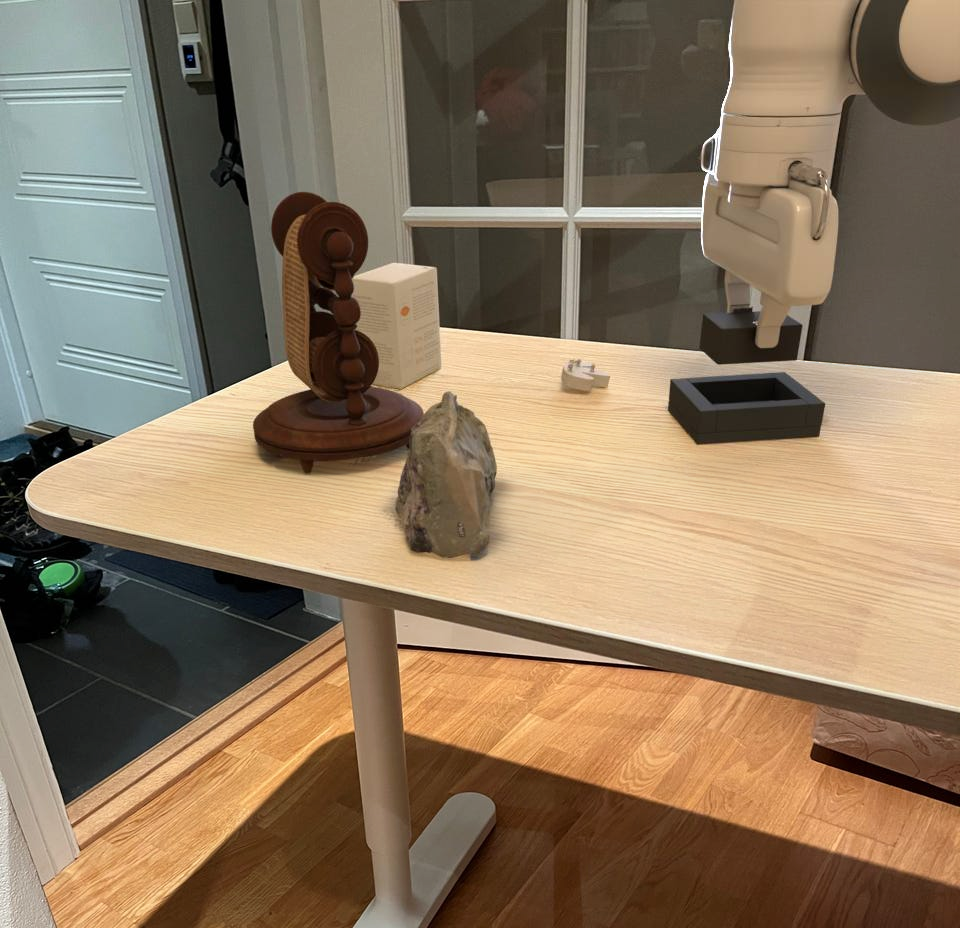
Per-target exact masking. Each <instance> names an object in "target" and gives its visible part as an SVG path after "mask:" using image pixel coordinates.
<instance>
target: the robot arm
mask: <svg viewBox="0 0 960 928" xmlns="http://www.w3.org/2000/svg"><path fill="white" fill-rule="evenodd" d="M732 7H733V8H732V15H731V22H730V23H731V24H730V32H729V41H728V52H729V58H730V59H729V60H730V79H729V80H730V81H729V85H728V89H727V93H726V95H725V98H724V101H723V103H722V107H721V116H720V125H719V128H718V129H717V131H716V133H715V134H713V136H712V137H710V138H709V139H707V140H706V141H705V142H704V144H703V145H702V150H701V159H700V160H701V161H700V162H701V163H700V164H701V165H700V166H701V169H702V171H705V172H706V173H707V174H706V175H705V179H704V185H703V192H702V193H703V194H702V209H701V210H702V211H701V229H700V230H701V232H700V234H701V235H700V236H701V237H700V238H701V247H702V252H703V256H704V258H706V259H707V260H709V261H711V262H712V263H714V264H716V265H717V266H718V267H720V268H722V269H723V270H725V273H724V288H725V295H726V303H727V308H726V313H735V312H753V309H754V306H753V305H752V304H751V287H752V288H754V289H755V290H757V291H758V292H760V299H759V305H761V309H760V311H761V312H760V315H759V318H758V322H753V331H752V332H753V334H752V342H753V343H754V344H756V345H757V346H758V347H760V348H773V347H775V346H776V345H777V343H778V340H779V333H780V327H781V325H782V323H783V321H784V320H785V318H786V316H787V315H788V314H789V312H790V310H791V308H792V307H802V306H817V305H822V304H823V303H824V301H825V300H826V298H827V297H828V295H829V293H830V291H831V288H832V283H833V278H834V277H833V276H834V271H835V264H836V263H835V261H836V255H837V254H836V252H837V245H838V244H837V243H838V233H839V205H838V202H837V200H836V198H835V197H834V196H833V194H832V189H831V188H830V187H829V183H828V182H829V181H830V180H831V177H832V171H833V165H834V159H835V154H836V153H835V152H836V147H837V142H838V135H839V128H840V123H841V117H842V111H843V105H844V103H845V102H846V101H845V100H846V99H847V98H848V97H849V96H852V95H866V96H867V98H868V100H869V101H870V103H872V105H873V106H874V107H875V108H876V109H877V110H878V111H879V112H881V113H882V114H883V115H885V116H886V117H888V118H890V119H892V120H894V121H896V122H899V123H902V124H904V125H909V126H919V127H922V126H934V125H935V126H937V125H940V124H944V123H945V124H946V123H948V122H951V121H954V120H957V119H959V118H960V0H733V6H732Z"/></svg>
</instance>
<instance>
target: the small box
mask: <svg viewBox="0 0 960 928" xmlns="http://www.w3.org/2000/svg"><path fill="white" fill-rule="evenodd" d="M352 281H353V283H354V292H353V294H352V296H351V297H353V298H355V299H356V300H357V301H358V303H359V306H360V310H361V316H360V320H359V321H358V322H357V323H356V324H357V325H358V327H357V328H356V329H355V330H357V331H360V332H362V333H363V334H365V335H366V336H368V337H369V338H370V339H371V341H372V342H373V343H374V345H375V347H376V349H377V352H378V357H379V368H378V373H377V376H376V378H375V380H374V382H373V384H372V385H375V386H381V387H386V388H391V389H395V390H402V389H403V388H405V387H408V386H410V385H411V384H413V383H415V382H417V381H419V380H421V379H423V378H425V377H427V376H430V375H431V374H433V373H435V372H436V371H439V370H441V368H442V350H441V349H442V346H441V325H440V309H439V308H440V307H439V289H438V269H437V267H436V266H427V265H418V264H409V263H400V262H391V263H389V264H385V265H383V266H379V267H377V268H374V269H371V270H367V271H365V272H362V273H359V274H355V275H354V277H353V279H352Z"/></svg>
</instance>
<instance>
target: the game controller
mask: <svg viewBox="0 0 960 928" xmlns="http://www.w3.org/2000/svg"><path fill="white" fill-rule="evenodd" d="M595 368H596V365H595V363H593V362H590V361H582V359H580V358H578V359H569V360H566V361H565V362H564V363H563V366H562V371H561V374H560V376H559V375H557V378H560V380H561V382H562V383H563V385H564V386H566V387H568V388H572V389H576V390H580V391H584V392H592V388H593V387H599V388H608V387H609V382H610V378H611V374H610V373H608V372H605V371H601V370H598V369H595ZM539 374H541V372H539V373H536V375H539ZM544 375H548V376H550V377H552V378H554V376H552V375H551V374H549V373H547V372H545V373H544ZM532 376H535V373H533V374H531V375H530V377H532ZM502 379H503V380H504V379H505V380H509V381H510V382H512V383H514V381H512V380H511V379H510V378H506V377H505V378H504V377H502V378H499V380H502ZM496 380H497V378H496V379H494V381H496ZM492 382H493V380H491V382H490V383H492ZM522 382H524V380H523V381H520V383H522Z"/></svg>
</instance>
